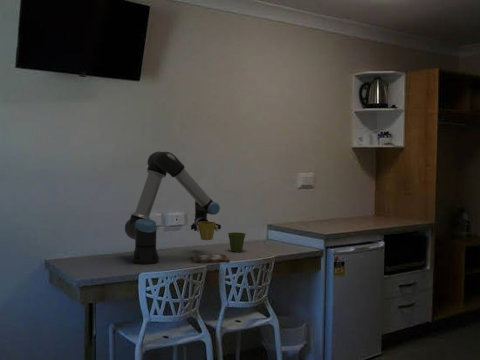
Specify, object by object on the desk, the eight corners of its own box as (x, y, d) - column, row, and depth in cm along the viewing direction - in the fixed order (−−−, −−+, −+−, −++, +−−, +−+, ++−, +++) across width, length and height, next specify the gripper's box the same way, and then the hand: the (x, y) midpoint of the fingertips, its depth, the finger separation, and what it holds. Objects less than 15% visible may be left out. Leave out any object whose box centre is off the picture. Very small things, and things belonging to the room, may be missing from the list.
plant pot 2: (249, 251, 327) (249, 233, 326) (236, 253, 319) (236, 235, 318) (236, 248, 335) (237, 231, 335) (223, 250, 327) (223, 233, 327)
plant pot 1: (194, 239, 292) (194, 222, 291) (203, 237, 301) (203, 220, 300) (209, 241, 287) (209, 224, 286) (218, 238, 296) (219, 222, 296)
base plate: (194, 263, 286) (194, 260, 286) (191, 257, 302) (191, 254, 302) (229, 262, 291) (229, 259, 290) (224, 256, 306) (224, 254, 306)
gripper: (221, 229, 314) (227, 235, 292) (184, 230, 309) (187, 236, 287) (221, 217, 313) (227, 222, 292) (184, 218, 309) (187, 222, 287)
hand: (207, 229), depth 290 cm, fingers closed on plant pot 1, 10 cm apart
